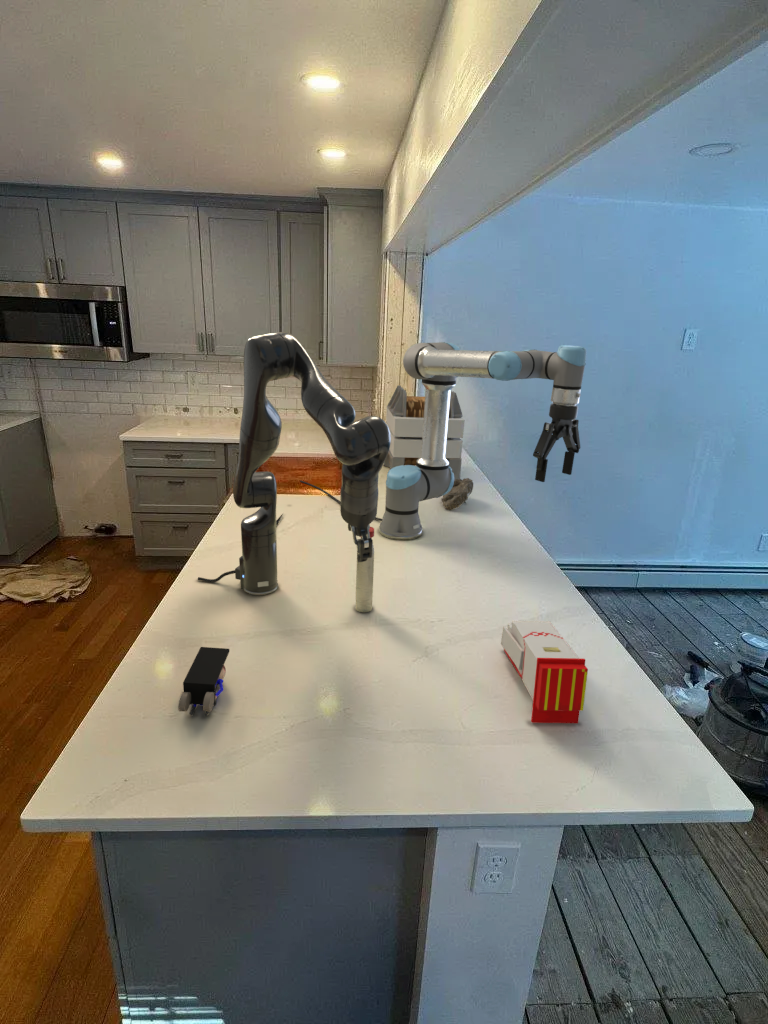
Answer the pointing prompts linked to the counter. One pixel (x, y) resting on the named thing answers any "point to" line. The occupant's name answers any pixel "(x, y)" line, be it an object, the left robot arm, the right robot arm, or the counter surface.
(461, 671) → the counter surface
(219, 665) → the black wheeled cart
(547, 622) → the toy
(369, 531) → the cap
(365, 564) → the bottle
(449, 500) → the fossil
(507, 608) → the counter surface
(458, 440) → the white slatted crate
